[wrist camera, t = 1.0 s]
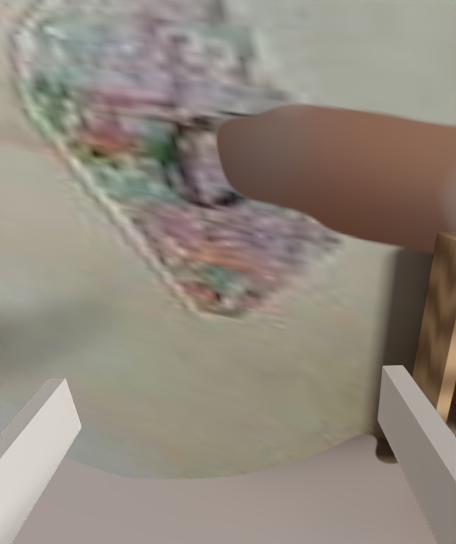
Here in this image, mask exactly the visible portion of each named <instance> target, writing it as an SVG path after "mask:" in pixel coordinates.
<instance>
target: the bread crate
mask: <svg viewBox="0 0 456 544" xmlns="http://www.w3.org/2000/svg"><path fill="white" fill-rule="evenodd" d="M412 378H413V380H414V381H415V382H416V384H417V385H418V386H419V388H420V389H421V391H422V392H423V393H424V395H425V396H426V397H427V399H428V400H429V402H430V403H431V404H432V406H433V407H434V408H435V410H436V411H437V412H438V414H439V415H440V417H441V418H442V419H443V421H444V422H445V423H446V421H447V417H448V413H449V408H450V404H451V400H452V396H453V391H454V387H455V383H456V232H450V233H437V238H436V244H435V250H434V255H433V261H432V267H431V272H430V278H429V284H428V290H427V295H426V301H425V307H424V313H423V318H422V324H421V330H420V336H419V341H418V347H417V353H416V359H415V364H414V370H413V376H412Z"/></svg>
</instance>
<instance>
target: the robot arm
mask: <svg viewBox="0 0 456 544" xmlns="http://www.w3.org/2000/svg"><path fill="white" fill-rule="evenodd" d="M378 422H379V424H380V426H381V428H382V430H383V432H384V434H385V436H386V438H387V441H388V443H389V445H390V447H391V449H392V451H393V453H394V455H395V457H396V459H397V461H398V463H399V465H400V467H401V469H402V471H403V473H404V476H405V478H406V480H407V482H408V484H409V486H410V488H411V490H412V492H413V494H414V496H415V498H416V500H417V502H418V504H419V506H420V508H421V510H422V513H423V515H424V517H425V519H426V521H427V523H428V525H429V527H430V529H431V531H432V533H433V535H434V537H435V539H436V541H437V543H438V544H456V437H455V436H454V434H453V433H452V432H451V430H450V429H449V428H448V426H447V425H446V423H445V422H444V421H443V419H442V418H441V417H440V415H439V414H438V412H437V411H436V410H435V408H434V407H433V406H432V404H431V403H430V402H429V400H428V399H427V397H426V396H425V395H424V393H423V392H422V391H421V389H420V388H419V386H418V385H417V384H416V382H415V381H414V380H413V378H412V377H411V376H410V374H409V373H408V371H407V370H406V369H405V367H404V366H403V365H394V366H383V367H382V378H381V388H380V399H379V410H378ZM80 429H81V424H80V421H79V418H78V415H77V412H76V409H75V406H74V403H73V400H72V397H71V394H70V391H69V388H68V385H67V381H66V378H56V379H48V380H47V381H46V382H45V383H44V384H43V386H42V387H41V388H40V389H39V390H38V391H37V392H36V394H35V395H34V396H33V397H32V398H31V399H30V400H29V402H28V403H27V404H26V405H25V406H24V407H23V408H22V409H21V411H20V412H19V413H18V414H17V415H16V416H15V417H14V419H13V420H12V421H11V422H10V423H9V424H8V425H7V427H6V428H5V429H4V430H3V431H2V432H1V433H0V544H11V543H12V541H13V540H14V538H15V537H16V535H17V533H18V532H19V530H20V528H21V527H22V525H23V523H24V522H25V520H26V518H27V517H28V515H29V513H30V512H31V510H32V509H33V507H34V505H35V504H36V502H37V500H38V499H39V497H40V495H41V494H42V492H43V490H44V489H45V487H46V485H47V483H48V482H49V480H50V479H51V477H52V475H53V474H54V472H55V470H56V469H57V467H58V465H59V464H60V462H61V460H62V459H63V457H64V456H65V454H66V452H67V451H68V449H69V447H70V446H71V444H72V442H73V441H74V439H75V437H76V436H77V434H78V432H79V431H80Z"/></svg>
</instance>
